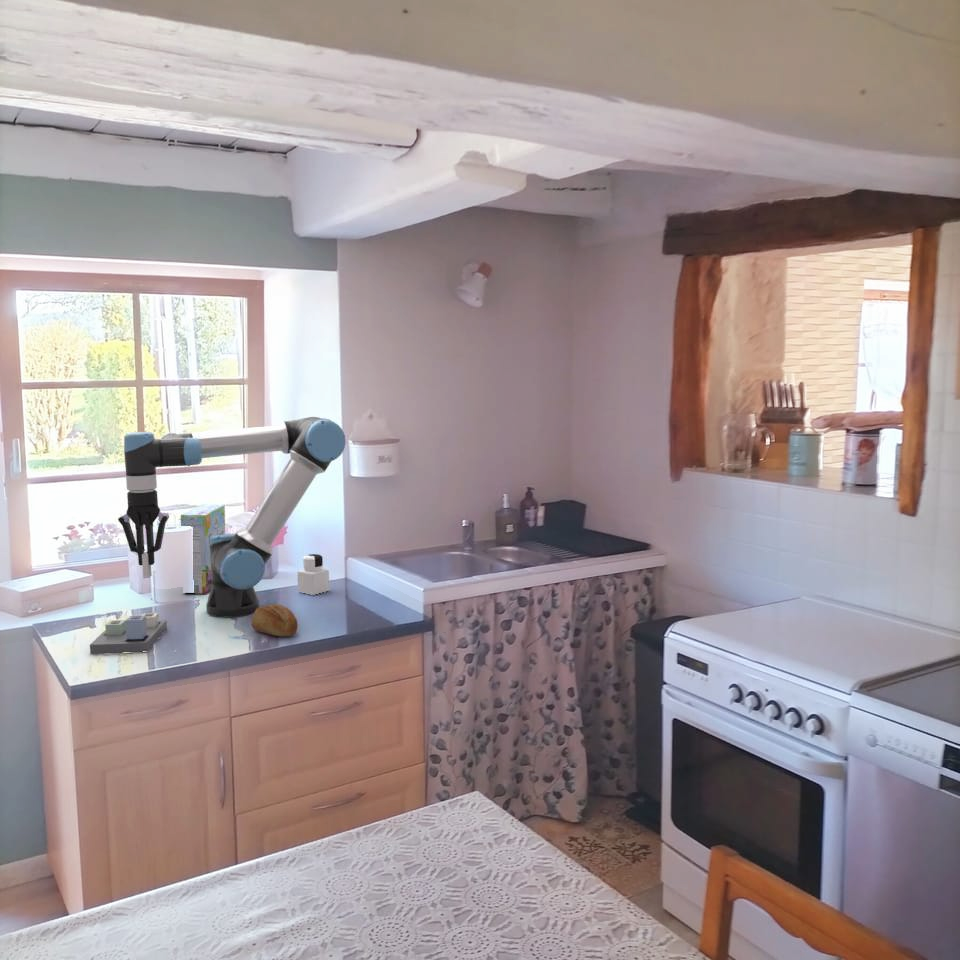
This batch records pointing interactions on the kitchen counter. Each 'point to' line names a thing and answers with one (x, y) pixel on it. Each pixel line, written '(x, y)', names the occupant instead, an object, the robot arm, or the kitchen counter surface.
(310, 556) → the stacked cream blocks
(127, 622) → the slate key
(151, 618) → the ivory key
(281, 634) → the bread roll
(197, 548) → the snack box
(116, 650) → the keypad board
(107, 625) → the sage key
